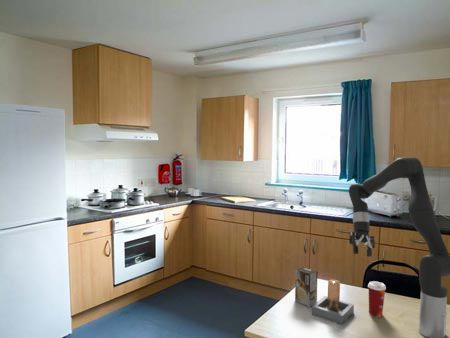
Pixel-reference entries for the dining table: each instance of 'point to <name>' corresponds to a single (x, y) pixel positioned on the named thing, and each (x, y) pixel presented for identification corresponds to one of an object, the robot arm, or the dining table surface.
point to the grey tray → (340, 318)
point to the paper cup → (376, 298)
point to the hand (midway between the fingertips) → (362, 255)
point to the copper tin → (333, 295)
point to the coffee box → (306, 286)
